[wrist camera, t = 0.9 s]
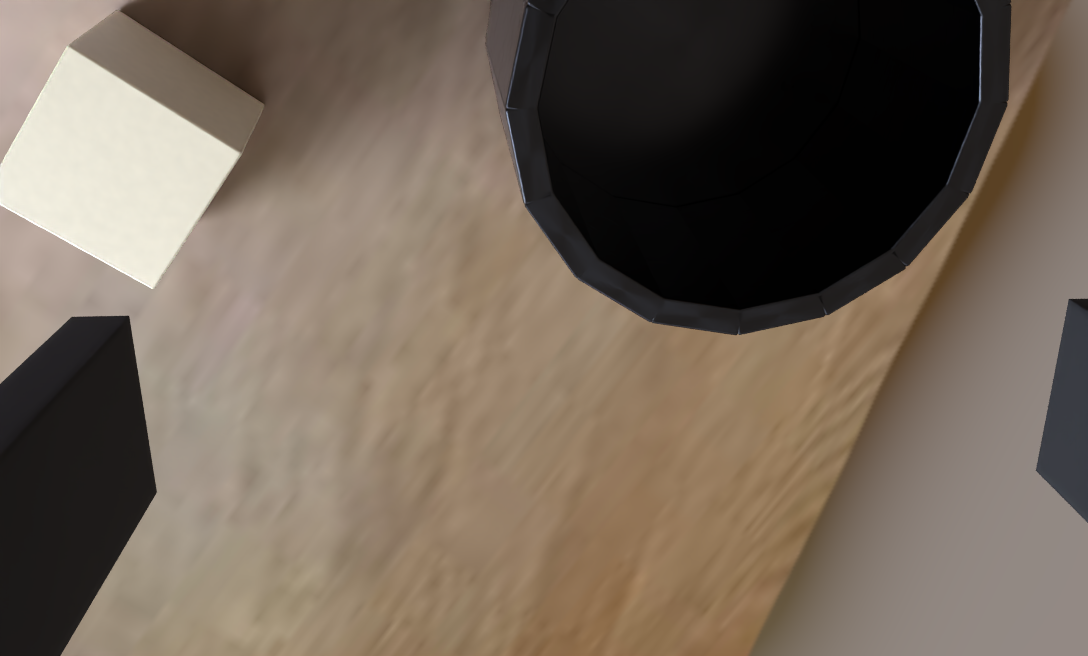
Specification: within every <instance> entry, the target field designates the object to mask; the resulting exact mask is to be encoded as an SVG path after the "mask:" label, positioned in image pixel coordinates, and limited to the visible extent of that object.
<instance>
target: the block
mask: <svg viewBox="0 0 1088 656" xmlns="http://www.w3.org/2000/svg"><path fill="white" fill-rule="evenodd" d="M264 107H265V105H264V104H263V103H261V102H260V101H258V100H257V99H255V98H254V97H252V96H251V95H249V94H247V93H246V92H244V91H243V90H241V89H240V88H238V87H237V86H235V85H233V84H232V83H230V82H229V81H227V80H226V79H224V78H223V77H221V76H220V75H218V74H216V73H215V72H213V71H212V70H210V69H209V68H207V67H206V66H204V65H203V64H201V63H199V62H198V61H196V60H195V59H193V58H192V57H190V56H189V55H187V54H186V53H184V52H182V51H181V50H179V49H178V48H176V47H175V46H173V45H172V44H170V43H169V42H167V41H165V40H164V39H162V38H161V37H159V36H158V35H156V34H155V33H153V32H152V31H150V30H148V29H147V28H145V27H144V26H142V25H141V24H139V23H138V22H136V21H134V20H133V19H131V18H130V17H128V16H127V15H125V14H124V13H122V12H121V11H119V10H116V11H115V12H113V13H112V14H111V15H109V16H108V17H106V18H105V19H104V20H102V21H101V22H99V23H98V24H97V25H95V26H94V27H93V28H91V29H90V30H88V31H87V32H86V33H84V34H83V35H81V36H80V37H79V38H77V39H76V40H75V41H73V42H72V43H70V44H69V45H68V46H67V47H66V49H65V51H64V52H63V54H62V56H61V58H60V60H59V61H58V63H57V65H56V67H55V68H54V70H53V72H52V74H51V76H50V77H49V79H48V81H47V83H46V85H45V86H44V88H43V90H42V92H41V93H40V95H39V97H38V99H37V101H36V102H35V104H34V106H33V108H32V110H31V111H30V113H29V115H28V117H27V118H26V120H25V122H24V124H23V126H22V127H21V129H20V131H19V133H18V135H17V136H16V138H15V140H14V142H13V143H12V145H11V147H10V149H9V151H8V152H7V154H6V156H5V158H4V159H3V161H2V163H1V165H0V205H1V206H3V207H5V208H7V209H9V210H10V211H12V212H14V213H16V214H18V215H20V216H21V217H23V218H25V219H27V220H29V221H30V222H32V223H34V224H36V225H38V226H39V227H41V228H43V229H45V230H47V231H49V232H50V233H52V234H54V235H56V236H58V237H59V238H61V239H63V240H65V241H67V242H68V243H70V244H72V245H74V246H76V247H78V248H79V249H81V250H83V251H85V252H87V253H88V254H90V255H92V256H94V257H96V258H97V259H99V260H101V261H103V262H105V263H106V264H108V265H110V266H112V267H114V268H116V269H117V270H119V271H121V272H123V273H125V274H126V275H128V276H130V277H132V278H134V279H135V280H137V281H139V282H141V283H143V284H145V285H146V286H148V287H150V288H152V289H154V288H156V286H157V285H158V283H159V281H160V280H161V278H162V277H163V275H164V274H165V272H166V271H167V269H168V268H169V266H170V264H171V263H172V261H173V260H174V258H175V257H176V255H177V254H178V252H179V251H180V249H181V247H182V246H183V244H184V243H185V241H186V240H187V238H188V237H189V235H190V234H191V232H192V230H193V229H194V227H195V226H196V224H197V223H198V221H199V220H200V218H201V217H202V215H203V214H204V212H205V210H206V209H207V207H208V206H209V204H210V203H211V201H212V200H213V198H214V197H215V195H216V193H217V192H218V190H219V189H220V187H221V186H222V184H223V183H224V181H225V180H226V178H227V176H228V175H229V173H230V172H231V170H232V169H233V167H234V166H235V164H236V163H237V161H238V159H239V158H240V156H241V155H242V153H243V151H244V149H245V147H246V145H247V142H248V140H249V138H250V136H251V134H252V132H253V130H254V128H255V126H256V124H257V122H258V120H259V117H260V115H261V113H262V111H263V109H264Z"/></svg>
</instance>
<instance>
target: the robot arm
mask: <svg viewBox="0 0 1088 656" xmlns="http://www.w3.org/2000/svg"><path fill="white" fill-rule="evenodd" d="M1036 471H1037V472H1038V473H1039V474H1040V475H1041V476H1042V477H1043V478H1044V479H1045V480H1046V481H1047V482H1048V483H1049V484H1050V485H1051V486H1052V487H1053V488H1054V489H1055V490H1056V491H1057V492H1058V493H1059V494H1060V495H1061V496H1062V497H1063V498H1064V499H1065V500H1066V501H1067V502H1068V503H1069V504H1070V505H1071V506H1072V507H1073V508H1074V509H1075V510H1076V511H1077V512H1078V513H1079V514H1080V515H1081V516H1082V517H1083V518H1084V519H1085V520H1086V521H1087V522H1088V299H1069V301H1068V307H1067V312H1066V317H1065V323H1064V327H1063V333H1062V338H1061V343H1060V348H1059V354H1058V359H1057V364H1056V369H1055V375H1054V379H1053V385H1052V390H1051V395H1050V400H1049V406H1048V411H1047V416H1046V421H1045V426H1044V432H1043V437H1042V442H1041V447H1040V452H1039V457H1038V463H1037V468H1036ZM156 493H157V491H156V484H155V478H154V471H153V465H152V459H151V452H150V446H149V440H148V433H147V427H146V420H145V414H144V408H143V401H142V395H141V389H140V382H139V376H138V369H137V363H136V357H135V350H134V344H133V338H132V331H131V325H130V318H129V316H93V317H71V318H70V319H69V320H68V321H67V322H66V323H65V324H64V325H63V326H62V327H61V328H60V329H58V330H57V331H56V332H55V333H54V334H53V335H52V336H51V337H50V338H49V339H48V340H47V341H46V342H45V343H44V344H42V345H41V346H40V347H39V348H38V349H37V350H36V351H35V352H34V353H33V354H32V355H31V356H30V357H29V358H27V359H26V360H25V361H24V362H23V363H22V364H21V365H20V366H19V367H18V368H17V369H16V370H15V371H14V372H13V373H11V374H10V375H9V376H8V377H7V378H6V379H5V380H4V381H3V382H2V383H1V384H0V656H60V655H61V654H62V652H63V650H64V649H65V647H66V645H67V644H68V642H69V640H70V639H71V637H72V635H73V633H74V632H75V630H76V628H77V627H78V625H79V623H80V622H81V620H82V618H83V617H84V615H85V613H86V611H87V610H88V608H89V606H90V605H91V603H92V601H93V600H94V598H95V596H96V595H97V593H98V591H99V589H100V588H101V586H102V584H103V583H104V581H105V579H106V578H107V576H108V574H109V573H110V571H111V569H112V567H113V566H114V564H115V562H116V561H117V559H118V557H119V556H120V554H121V552H122V550H123V549H124V547H125V545H126V544H127V542H128V540H129V539H130V537H131V535H132V534H133V532H134V530H135V528H136V527H137V525H138V523H139V522H140V520H141V518H142V517H143V515H144V513H145V512H146V510H147V508H148V506H149V505H150V503H151V501H152V500H153V498H154V496H155V495H156Z"/></svg>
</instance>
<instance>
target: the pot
mask: <svg viewBox="0 0 1088 656" xmlns="http://www.w3.org/2000/svg"><path fill="white" fill-rule="evenodd" d="M1010 3H1011V0H491V5H490V13H489V22H488V27H487V33H486V43H485V44H486V48H487V53H488V58H489V63H490V68H491V73H492V78H493V82H494V87H495V92H496V97H497V102H498V107H499V112H500V116H501V120H502V124H503V128H504V131H505V135H506V139H507V143H508V146H509V150H510V154H511V157H512V161H513V165H514V169H515V172H516V176H517V180H518V184H519V187H520V191H521V195H522V198H523V202H524V204H525V207H526V208H527V210H528V211H529V213H530V214H531V215H532V217H533V218H534V220H535V221H536V223H537V224H538V225H539V227H540V228H541V230H542V231H543V232H544V234H545V235H546V237H547V238H548V239H549V241H550V242H551V244H552V245H553V246H554V248H555V249H556V251H557V252H558V254H559V255H560V256H561V258H562V259H563V261H564V262H565V263H566V265H567V266H568V268H569V269H570V270H571V272H572V273H573V275H574V276H575V277H576V278H578V280H580V281H582V282H583V283H585V284H587V285H588V286H590V287H592V288H593V289H595V290H597V291H598V292H600V293H602V294H603V295H605V296H607V297H608V298H610V299H612V300H613V301H615V302H617V303H618V304H620V305H622V306H623V307H625V308H627V309H628V310H630V311H632V312H634V313H635V314H637V315H639V316H640V317H642V318H644V319H645V320H647V321H649V322H652V323H656V324H663V325H670V326H677V327H683V328H690V329H697V330H704V331H711V332H718V333H724V334H731V335H737V334H739V335H742V334H746V333H751V332H756V331H760V330H765V329H769V328H774V327H779V326H783V325H788V324H793V323H797V322H802V321H807V320H811V319H816V318H821V317H824V316H825V315H829V314H831V313H833V312H834V311H836V310H838V309H839V308H841V307H843V306H844V305H846V304H848V303H849V302H851V301H853V300H854V299H856V298H858V297H859V296H861V295H863V294H864V293H866V292H868V291H869V290H871V289H873V288H874V287H876V286H878V285H879V284H881V283H883V282H884V281H886V280H888V279H889V278H891V277H893V276H894V275H896V274H898V273H899V272H901V271H903V270H904V269H905V266H908V265H910V263H911V262H912V261H913V260H914V259H915V258H916V257H917V255H918V254H919V253H920V252H921V251H922V250H923V248H924V247H925V246H926V245H927V244H928V243H929V242H930V240H931V239H932V238H933V237H934V236H935V235H936V233H937V232H938V231H939V230H940V229H941V228H942V227H943V225H944V224H945V223H946V222H947V221H948V220H949V219H950V217H951V216H952V215H953V214H954V213H955V212H956V210H957V209H958V208H959V207H960V206H961V205H962V204H963V202H964V201H965V200H966V199H967V198H968V196H969V193H971V192H972V190H973V188H974V185H975V183H976V180H977V178H978V176H979V173H980V171H981V168H982V166H983V163H984V161H985V159H986V156H987V154H988V151H989V149H990V146H991V144H992V141H993V139H994V137H995V134H996V132H997V129H998V127H999V124H1000V122H1001V120H1002V117H1003V115H1004V112H1005V110H1006V107H1007V101H1008V97H1009V64H1010V32H1011V4H1010Z"/></svg>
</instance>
